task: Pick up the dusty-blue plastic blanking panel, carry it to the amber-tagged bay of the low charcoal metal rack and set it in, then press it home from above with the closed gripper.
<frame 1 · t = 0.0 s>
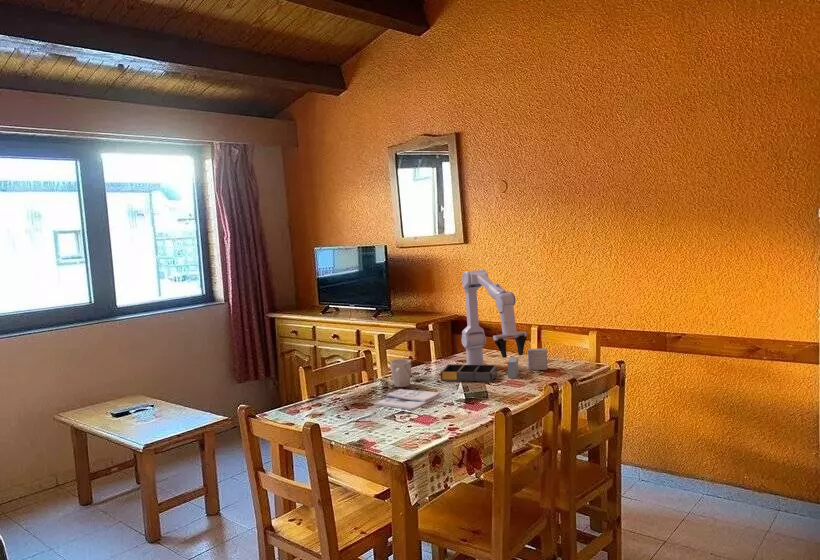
hand: (512, 356, 245), 11 cm above the table, tool pointing down, fingers open, 7 cm apart
blanking panel: (513, 375, 256), on the table
medicine box: (537, 369, 265), on the table
mug: (401, 386, 250), on the table
rack: (469, 377, 258), on the table
open book: (406, 402, 230), on the table
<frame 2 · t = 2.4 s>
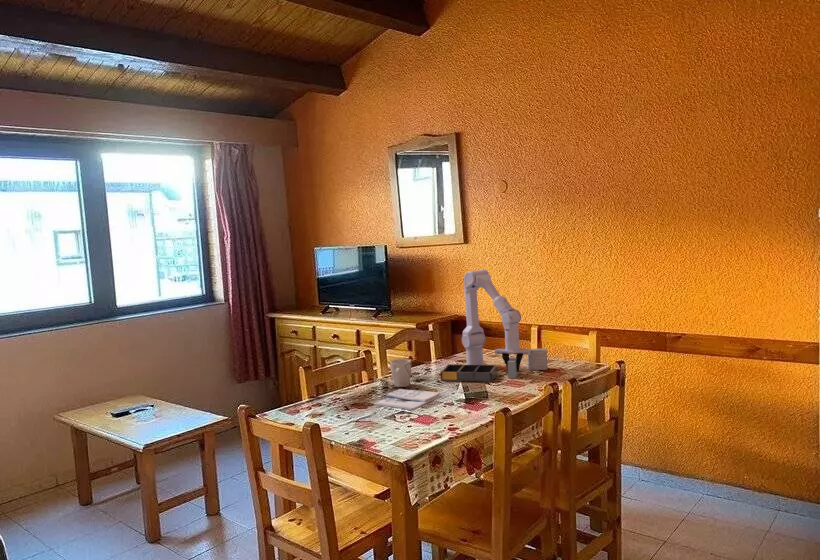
hand: (513, 371, 256), 2 cm above the table, tool pointing down, fingers closed on blanking panel, 3 cm apart
blanking panel: (513, 375, 256), on the table, touching gripper
everything else where it was.
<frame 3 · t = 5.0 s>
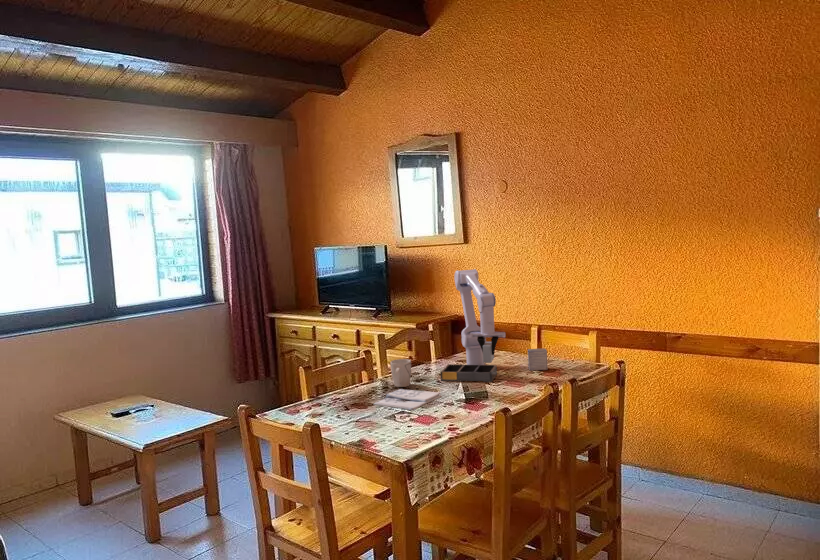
hand: (488, 354, 257), 9 cm above the table, tool pointing down, fingers closed on blanking panel, 3 cm apart
blanking panel: (488, 360, 257), point 7 cm above the table, touching gripper
everything else where it was.
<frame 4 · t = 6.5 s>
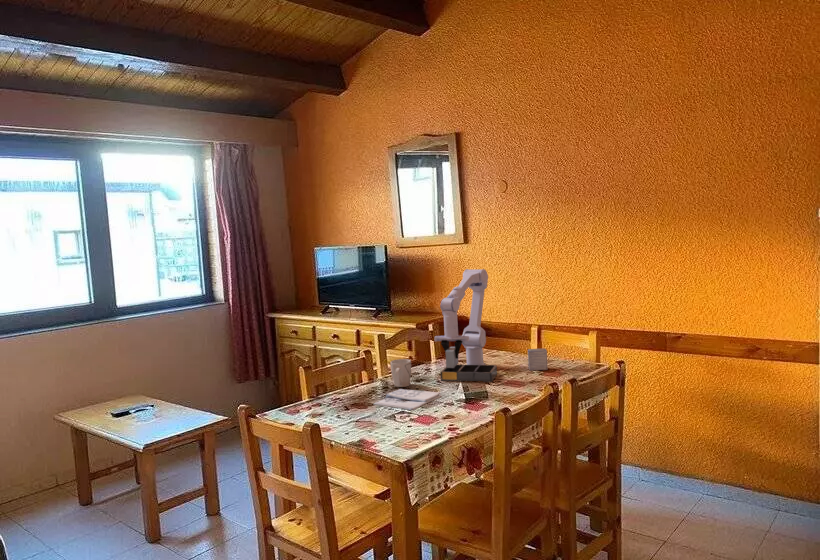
hand: (452, 357, 259), 8 cm above the table, tool pointing down, fingers closed on blanking panel, 3 cm apart
blanking panel: (452, 365, 259), point 5 cm above the table, touching gripper
everything else where it was.
when the fingers open (5 cm above the table, at t = 7.8 s): blanking panel stays where it is, resting on rack.
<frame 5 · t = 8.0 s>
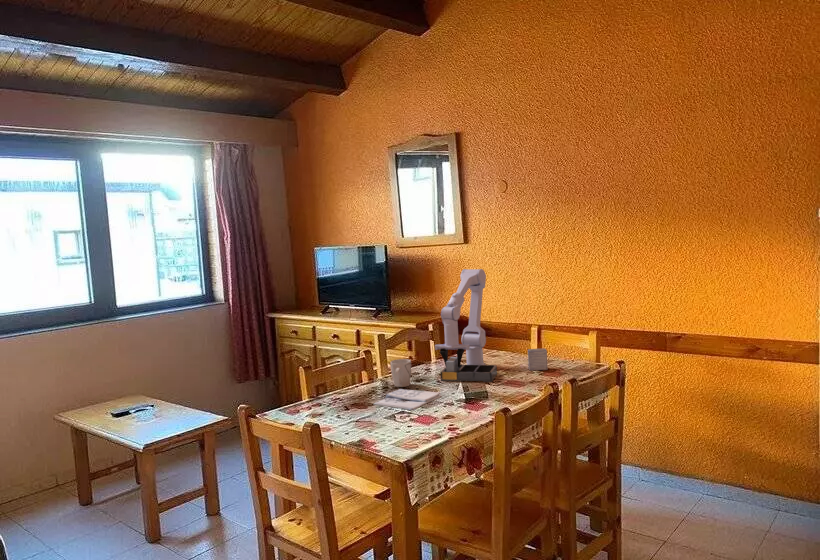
hand: (452, 366, 259), 5 cm above the table, tool pointing down, fingers open, 5 cm apart
blanking panel: (452, 375, 259), point 1 cm above the table, touching rack
everything else where it was.
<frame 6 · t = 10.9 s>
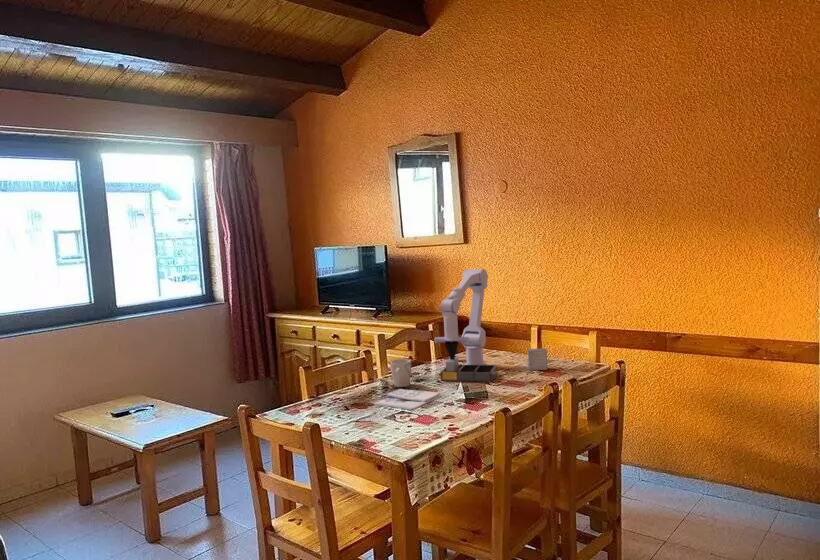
hand: (452, 359, 259), 8 cm above the table, tool pointing down, fingers closed, pressing on blanking panel
blanking panel: (452, 375, 259), point 1 cm above the table, touching gripper, rack
everything else where it was.
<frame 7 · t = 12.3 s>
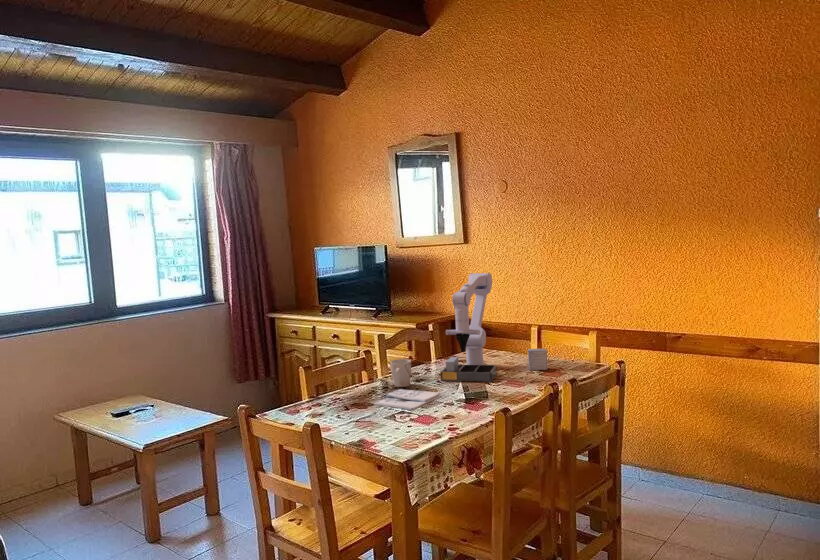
hand: (463, 351, 263), 10 cm above the table, tool pointing down, fingers closed
blanking panel: (452, 375, 259), point 1 cm above the table, touching rack
everything else where it was.
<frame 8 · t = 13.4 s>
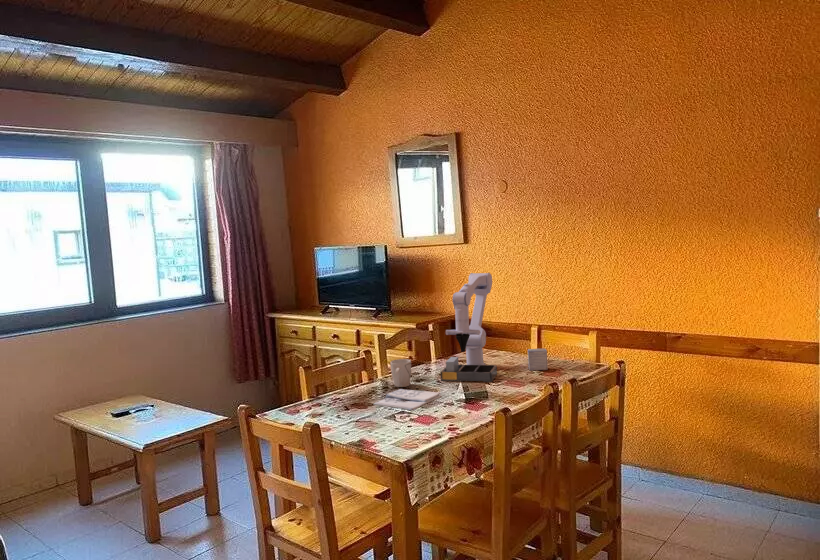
hand: (463, 351, 263), 10 cm above the table, tool pointing down, fingers closed
nothing on the table moved.
at the end: blanking panel 0.8 cm from the target spot on the rack, point 0.8 cm above the rack's base; blanking panel tilted 0°; the gripper is holding nothing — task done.
